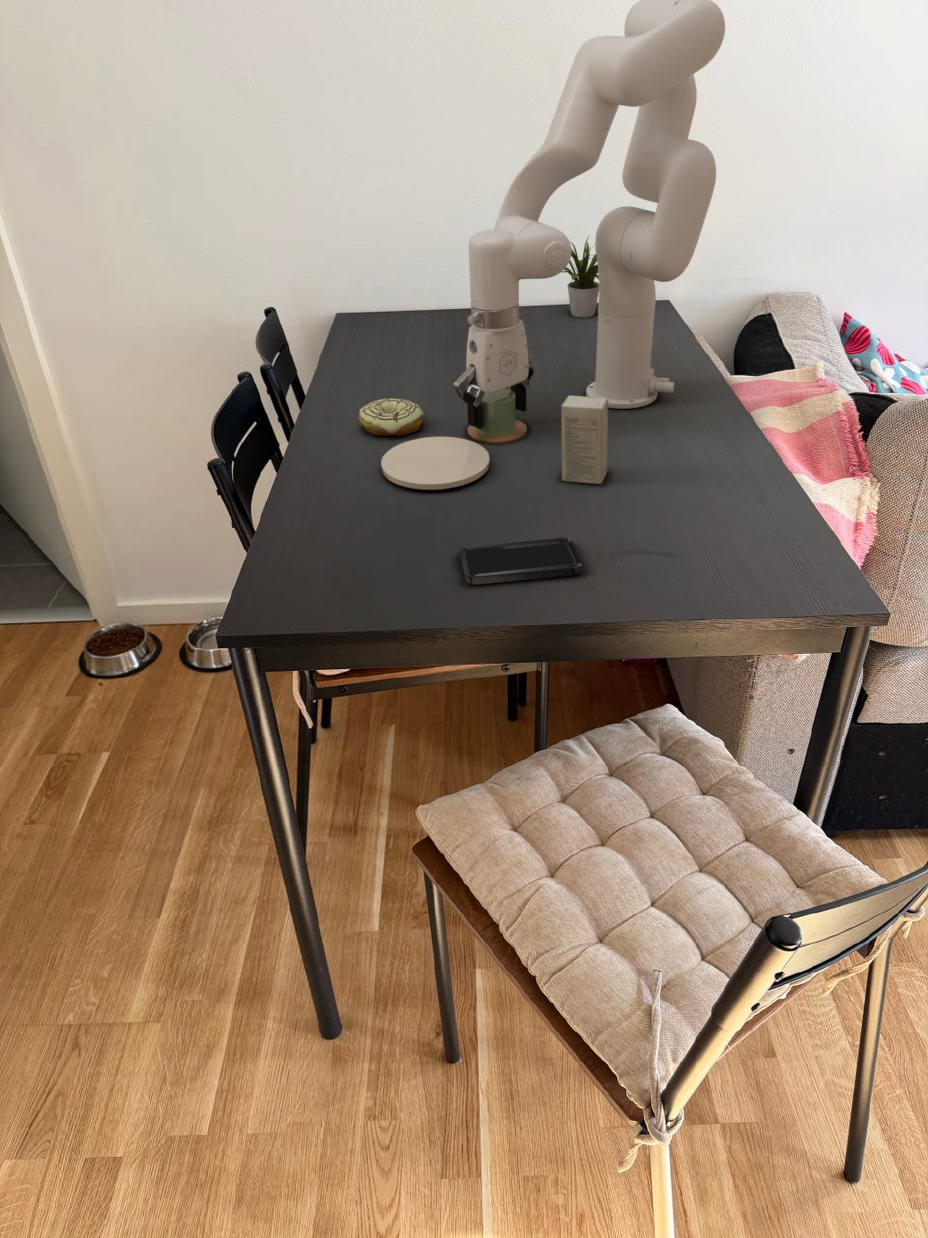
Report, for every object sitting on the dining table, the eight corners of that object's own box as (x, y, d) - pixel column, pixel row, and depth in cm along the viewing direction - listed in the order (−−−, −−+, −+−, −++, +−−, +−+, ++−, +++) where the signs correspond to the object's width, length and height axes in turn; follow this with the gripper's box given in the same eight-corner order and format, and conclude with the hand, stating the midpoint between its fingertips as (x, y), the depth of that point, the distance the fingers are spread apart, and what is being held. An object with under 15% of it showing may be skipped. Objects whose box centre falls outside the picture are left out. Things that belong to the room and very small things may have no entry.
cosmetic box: (607, 473, 145) (611, 397, 138) (601, 485, 142) (604, 408, 135) (566, 468, 147) (568, 393, 140) (559, 480, 144) (560, 404, 137)
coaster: (533, 422, 162) (533, 420, 162) (516, 446, 155) (517, 444, 154) (478, 416, 165) (478, 414, 165) (459, 439, 158) (459, 437, 157)
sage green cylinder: (520, 423, 161) (520, 389, 158) (509, 438, 156) (508, 404, 153) (483, 419, 163) (482, 385, 160) (471, 434, 158) (470, 400, 155)
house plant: (541, 323, 205) (542, 244, 196) (547, 304, 216) (548, 228, 207) (608, 324, 203) (612, 245, 193) (610, 304, 214) (614, 228, 205)
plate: (503, 451, 153) (503, 442, 152) (469, 499, 140) (468, 489, 139) (406, 440, 158) (405, 431, 157) (364, 485, 145) (363, 476, 144)
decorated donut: (397, 445, 157) (395, 423, 155) (348, 431, 162) (346, 410, 160) (435, 422, 164) (433, 401, 162) (386, 410, 169) (384, 390, 167)
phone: (582, 567, 121) (466, 577, 120) (582, 574, 122) (466, 585, 121) (570, 536, 128) (459, 546, 127) (570, 543, 128) (460, 553, 127)
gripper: (469, 334, 142) (473, 440, 152) (551, 307, 151) (550, 408, 161) (437, 323, 147) (443, 426, 157) (518, 297, 156) (519, 397, 165)
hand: (497, 417), depth 159 cm, fingers open, 9 cm apart
